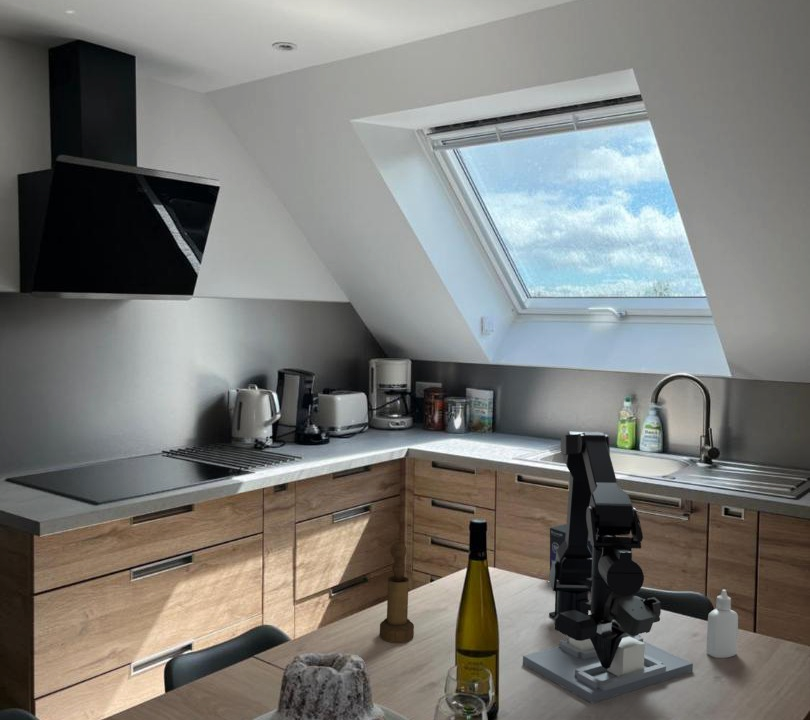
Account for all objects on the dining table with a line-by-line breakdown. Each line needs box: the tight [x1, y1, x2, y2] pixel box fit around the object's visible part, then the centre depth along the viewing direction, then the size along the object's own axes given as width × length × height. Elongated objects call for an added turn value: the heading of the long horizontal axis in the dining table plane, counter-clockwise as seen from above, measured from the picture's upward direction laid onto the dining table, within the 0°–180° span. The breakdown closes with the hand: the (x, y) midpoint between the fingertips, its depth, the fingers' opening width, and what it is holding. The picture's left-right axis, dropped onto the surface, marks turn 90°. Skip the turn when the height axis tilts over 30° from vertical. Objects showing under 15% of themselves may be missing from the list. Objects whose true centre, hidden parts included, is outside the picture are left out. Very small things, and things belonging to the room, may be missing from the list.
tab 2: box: [607, 636, 645, 676], centre depth 141 cm, size 4×5×5 cm
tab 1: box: [568, 636, 594, 651], centre depth 151 cm, size 4×5×5 cm
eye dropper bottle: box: [706, 589, 739, 659], centre depth 153 cm, size 4×6×12 cm
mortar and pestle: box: [379, 541, 415, 644], centre depth 158 cm, size 7×6×18 cm
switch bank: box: [522, 634, 694, 704], centre depth 147 cm, size 17×24×2 cm
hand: (605, 667), depth 139 cm, fingers closed
